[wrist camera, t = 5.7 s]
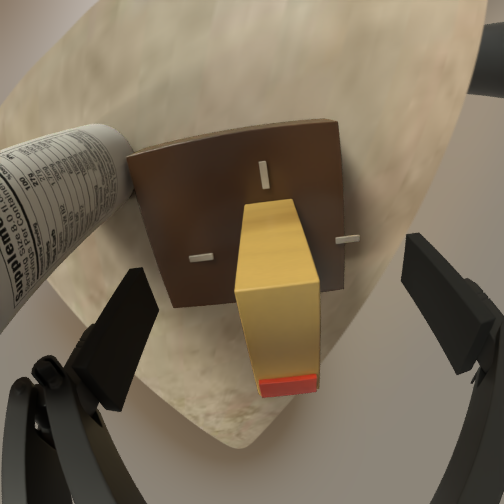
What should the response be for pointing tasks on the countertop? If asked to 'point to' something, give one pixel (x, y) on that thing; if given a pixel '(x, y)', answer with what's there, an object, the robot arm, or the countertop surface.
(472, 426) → the robot arm
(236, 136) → the plate
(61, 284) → the countertop surface
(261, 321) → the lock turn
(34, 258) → the energy drink can
